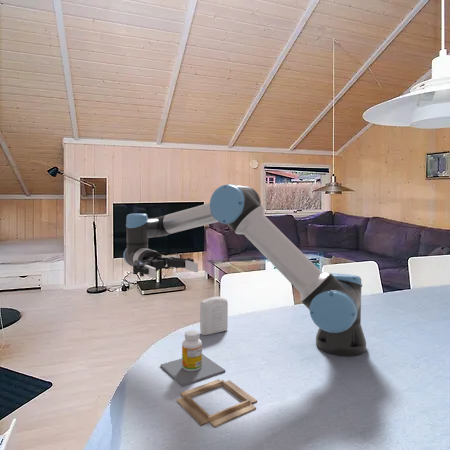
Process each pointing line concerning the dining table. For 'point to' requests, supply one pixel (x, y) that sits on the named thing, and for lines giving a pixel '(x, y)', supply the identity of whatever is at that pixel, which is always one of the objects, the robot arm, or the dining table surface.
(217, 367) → the slate mat
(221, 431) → the dining table surface
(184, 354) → the supplement bottle
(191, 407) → the square tan frame
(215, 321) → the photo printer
